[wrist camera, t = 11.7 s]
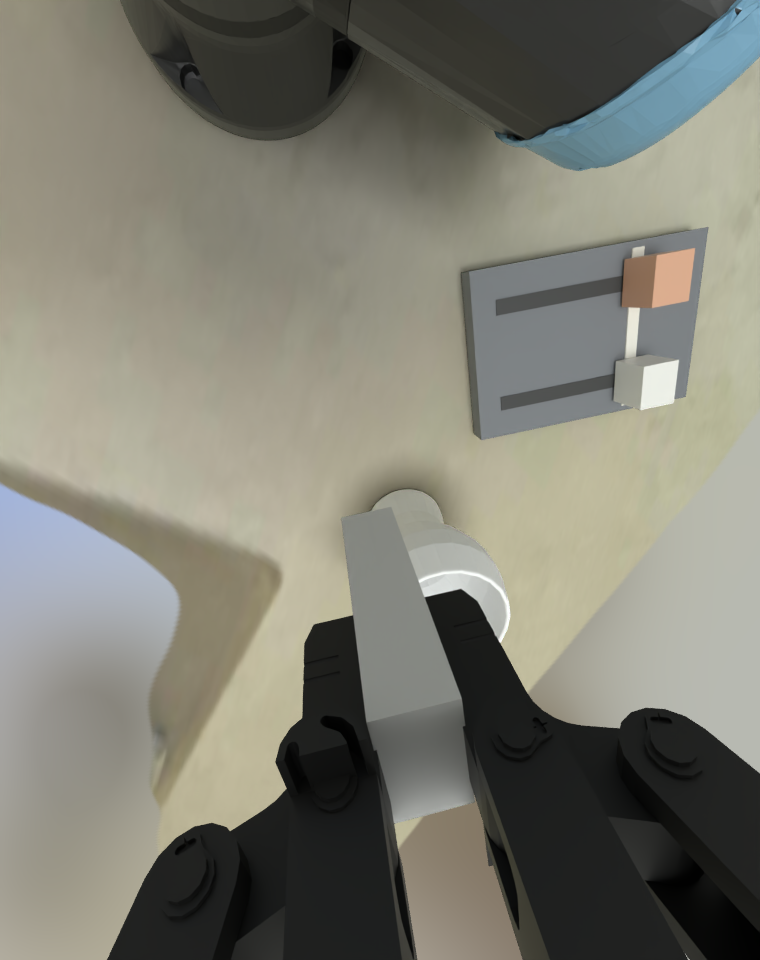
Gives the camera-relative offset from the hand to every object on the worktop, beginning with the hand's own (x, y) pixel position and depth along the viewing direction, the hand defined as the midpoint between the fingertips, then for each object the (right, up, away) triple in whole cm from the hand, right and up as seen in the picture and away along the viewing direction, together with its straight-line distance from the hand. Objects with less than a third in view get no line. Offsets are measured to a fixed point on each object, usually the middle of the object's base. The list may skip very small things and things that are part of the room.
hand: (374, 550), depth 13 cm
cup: (+3, -2, +31) cm, 31 cm away
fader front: (+22, +19, +22) cm, 36 cm away
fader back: (+23, +11, +25) cm, 36 cm away
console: (+18, +15, +25) cm, 34 cm away
